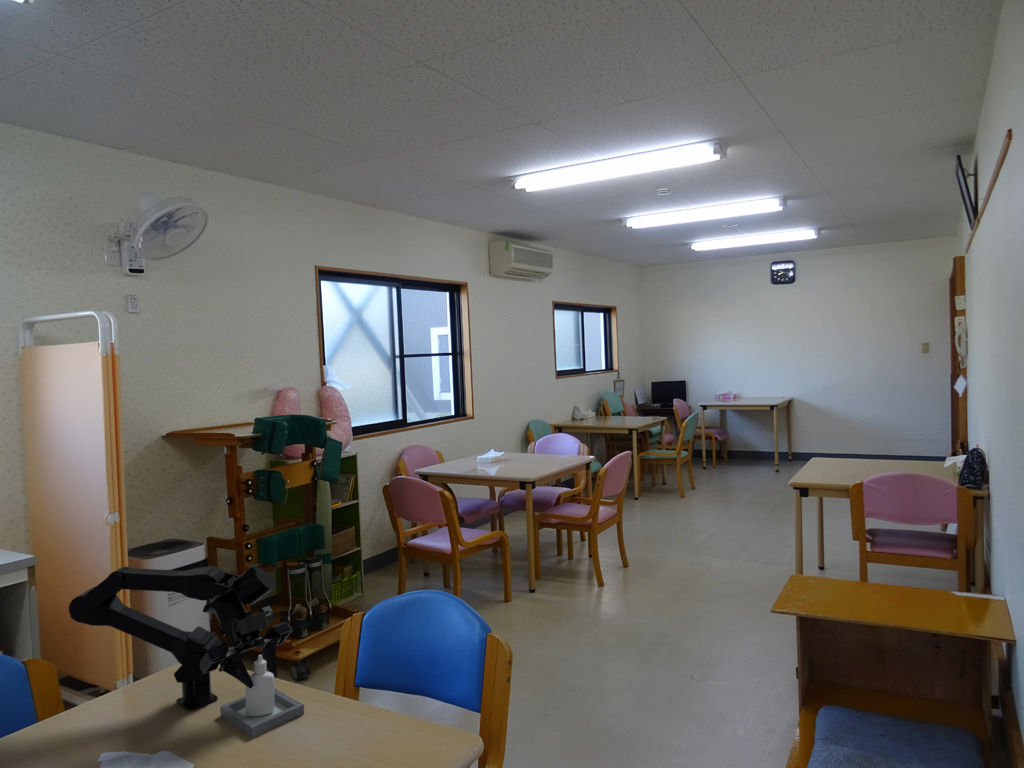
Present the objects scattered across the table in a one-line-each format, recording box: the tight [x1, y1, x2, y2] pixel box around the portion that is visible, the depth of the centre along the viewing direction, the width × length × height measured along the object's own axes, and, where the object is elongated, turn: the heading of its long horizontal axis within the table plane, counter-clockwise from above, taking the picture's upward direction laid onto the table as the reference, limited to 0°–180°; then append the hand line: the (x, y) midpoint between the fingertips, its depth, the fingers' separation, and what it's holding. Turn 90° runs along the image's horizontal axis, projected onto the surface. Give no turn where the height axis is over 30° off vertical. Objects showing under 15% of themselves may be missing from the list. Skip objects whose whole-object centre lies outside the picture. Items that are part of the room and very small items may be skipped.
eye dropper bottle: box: [245, 654, 275, 716], centre depth 144 cm, size 4×6×12 cm
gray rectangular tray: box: [219, 687, 305, 739], centre depth 144 cm, size 13×11×2 cm
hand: (264, 682), depth 143 cm, fingers closed on eye dropper bottle, 5 cm apart
